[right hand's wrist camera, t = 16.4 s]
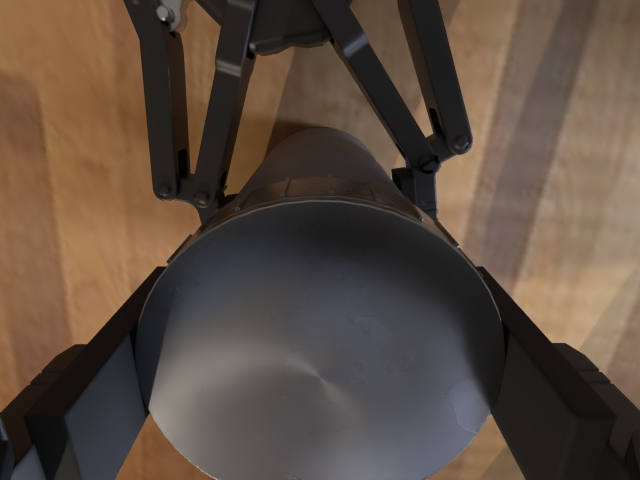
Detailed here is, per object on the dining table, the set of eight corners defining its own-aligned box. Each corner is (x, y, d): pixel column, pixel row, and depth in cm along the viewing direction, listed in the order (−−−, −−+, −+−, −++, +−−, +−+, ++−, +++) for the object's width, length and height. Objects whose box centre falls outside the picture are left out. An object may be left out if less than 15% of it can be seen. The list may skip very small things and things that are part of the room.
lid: (495, 406, 14) (530, 469, 11) (232, 466, 15) (217, 535, 12) (442, 128, 10) (476, 140, 8) (110, 230, 11) (59, 265, 9)
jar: (394, 229, 30) (508, 449, 12) (281, 261, 31) (226, 511, 13) (364, 109, 27) (454, 158, 9) (240, 149, 28) (91, 266, 10)
